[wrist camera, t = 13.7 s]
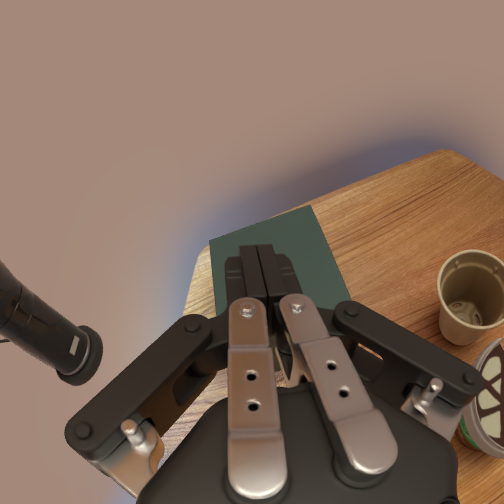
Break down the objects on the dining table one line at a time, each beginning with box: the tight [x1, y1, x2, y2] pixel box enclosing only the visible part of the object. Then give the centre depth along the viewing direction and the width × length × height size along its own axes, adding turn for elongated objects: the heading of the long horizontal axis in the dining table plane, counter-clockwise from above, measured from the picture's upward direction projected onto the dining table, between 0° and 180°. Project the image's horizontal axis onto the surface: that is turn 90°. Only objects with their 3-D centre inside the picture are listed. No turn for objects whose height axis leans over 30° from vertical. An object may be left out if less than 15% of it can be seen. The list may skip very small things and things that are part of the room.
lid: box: [209, 205, 352, 340], centre depth 35 cm, size 16×14×1 cm
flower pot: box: [437, 250, 504, 346], centre depth 29 cm, size 9×9×9 cm
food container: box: [455, 337, 504, 459], centre depth 21 cm, size 12×6×10 cm, turn 11°
